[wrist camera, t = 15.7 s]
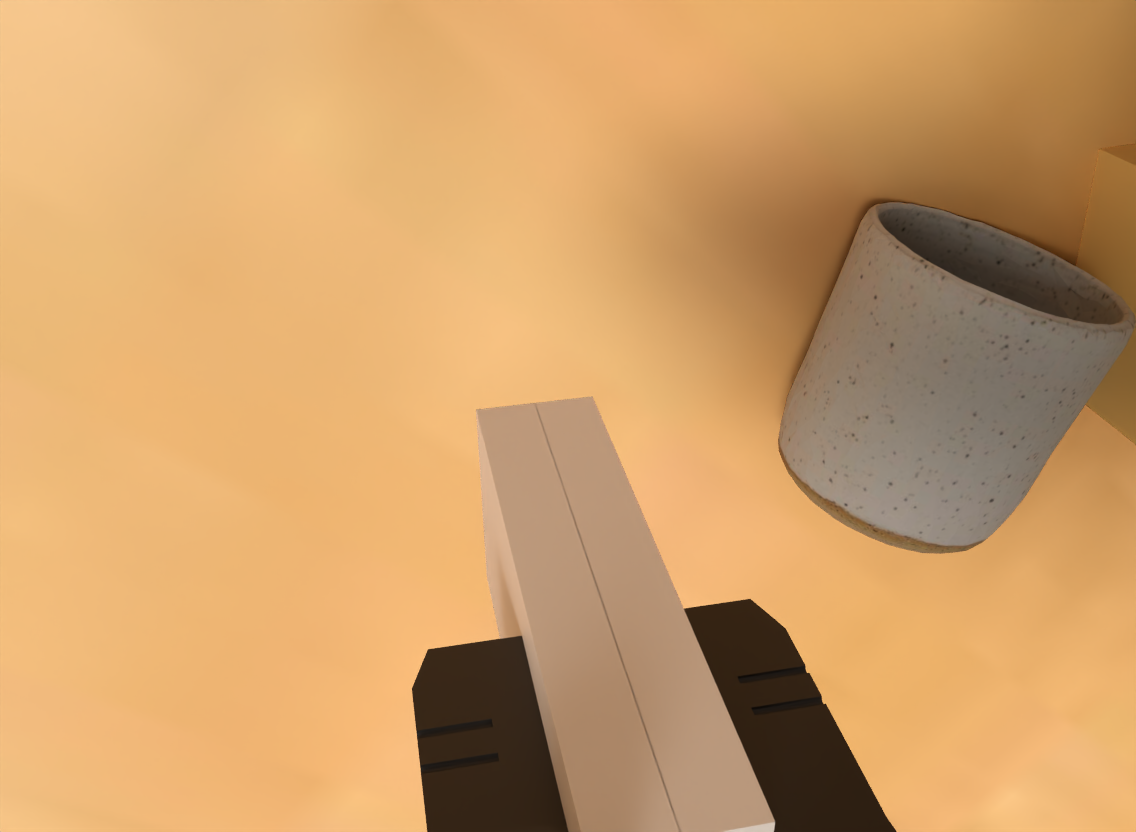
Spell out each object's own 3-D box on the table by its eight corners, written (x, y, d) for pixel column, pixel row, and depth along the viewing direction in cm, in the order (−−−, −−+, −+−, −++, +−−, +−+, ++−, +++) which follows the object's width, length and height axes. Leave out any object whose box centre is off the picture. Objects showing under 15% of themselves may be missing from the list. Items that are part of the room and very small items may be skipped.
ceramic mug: (728, 424, 35) (834, 572, 29) (821, 181, 31) (965, 288, 25) (994, 456, 38) (1141, 595, 32) (1105, 241, 35) (1295, 349, 28)
